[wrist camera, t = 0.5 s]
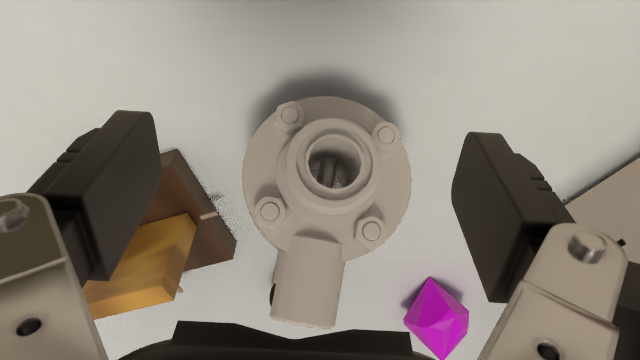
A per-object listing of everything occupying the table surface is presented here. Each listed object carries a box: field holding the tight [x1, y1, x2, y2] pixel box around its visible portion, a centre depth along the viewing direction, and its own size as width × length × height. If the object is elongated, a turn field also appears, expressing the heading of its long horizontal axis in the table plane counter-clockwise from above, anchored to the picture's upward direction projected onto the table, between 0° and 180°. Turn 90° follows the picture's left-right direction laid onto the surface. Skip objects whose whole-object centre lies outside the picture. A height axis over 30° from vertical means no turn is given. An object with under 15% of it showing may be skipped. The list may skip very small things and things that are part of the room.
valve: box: [242, 96, 412, 329], centre depth 33 cm, size 10×20×15 cm
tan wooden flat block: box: [82, 213, 197, 320], centre depth 32 cm, size 10×2×7 cm, turn 109°
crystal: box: [403, 277, 469, 360], centre depth 41 cm, size 5×5×5 cm
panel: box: [139, 149, 236, 293], centre depth 35 cm, size 14×14×2 cm
